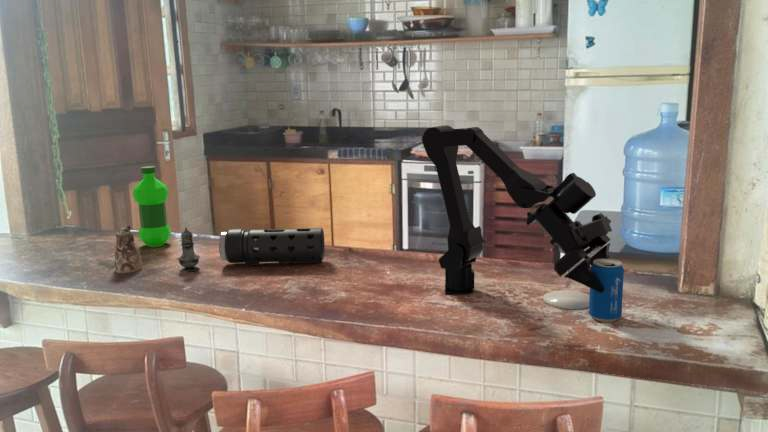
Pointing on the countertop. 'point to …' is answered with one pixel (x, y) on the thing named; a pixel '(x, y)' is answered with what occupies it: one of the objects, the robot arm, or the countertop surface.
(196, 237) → the countertop surface
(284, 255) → the muzzle brake
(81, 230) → the countertop surface
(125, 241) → the figurine
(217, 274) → the countertop surface
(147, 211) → the plastic bottle
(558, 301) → the white round disc
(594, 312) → the beverage can
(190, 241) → the salt shaker
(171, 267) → the countertop surface
